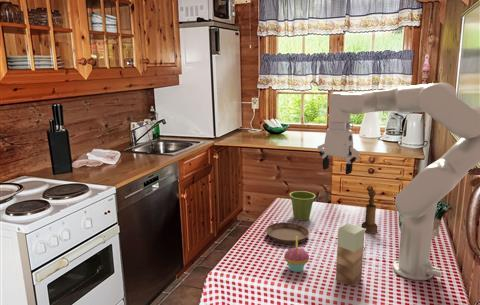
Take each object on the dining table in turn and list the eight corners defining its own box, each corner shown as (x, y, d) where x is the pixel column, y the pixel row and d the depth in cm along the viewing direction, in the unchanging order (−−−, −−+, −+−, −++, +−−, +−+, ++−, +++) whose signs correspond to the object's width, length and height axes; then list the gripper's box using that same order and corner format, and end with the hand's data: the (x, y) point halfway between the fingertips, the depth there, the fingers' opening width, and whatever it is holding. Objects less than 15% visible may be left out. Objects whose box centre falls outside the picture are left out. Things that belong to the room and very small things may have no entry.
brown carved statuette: (380, 230, 166) (383, 190, 162) (370, 234, 163) (373, 193, 159) (367, 225, 172) (370, 186, 168) (358, 229, 168) (360, 189, 164)
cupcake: (283, 262, 140) (283, 231, 137) (307, 262, 139) (308, 231, 137) (285, 274, 131) (286, 242, 129) (310, 275, 131) (311, 242, 128)
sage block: (363, 245, 126) (364, 228, 125) (354, 251, 122) (355, 234, 120) (347, 240, 130) (348, 223, 129) (337, 245, 126) (338, 228, 125)
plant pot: (310, 224, 173) (311, 200, 171) (285, 220, 178) (286, 196, 176) (317, 215, 184) (318, 192, 181) (293, 211, 189) (294, 189, 186)
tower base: (361, 279, 128) (362, 262, 127) (352, 286, 124) (353, 269, 123) (345, 272, 133) (346, 256, 131) (335, 279, 128) (336, 262, 127)
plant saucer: (312, 232, 166) (313, 225, 165) (303, 250, 150) (303, 242, 149) (273, 226, 172) (273, 219, 172) (260, 242, 156) (260, 235, 156)
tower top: (362, 262, 127) (363, 245, 126) (353, 269, 123) (354, 251, 122) (346, 256, 131) (346, 240, 130) (336, 262, 127) (337, 245, 126)
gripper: (366, 127, 139) (363, 173, 143) (324, 122, 151) (322, 165, 155) (355, 129, 134) (352, 177, 138) (313, 124, 146) (311, 168, 150)
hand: (336, 171), depth 146 cm, fingers open, 9 cm apart
